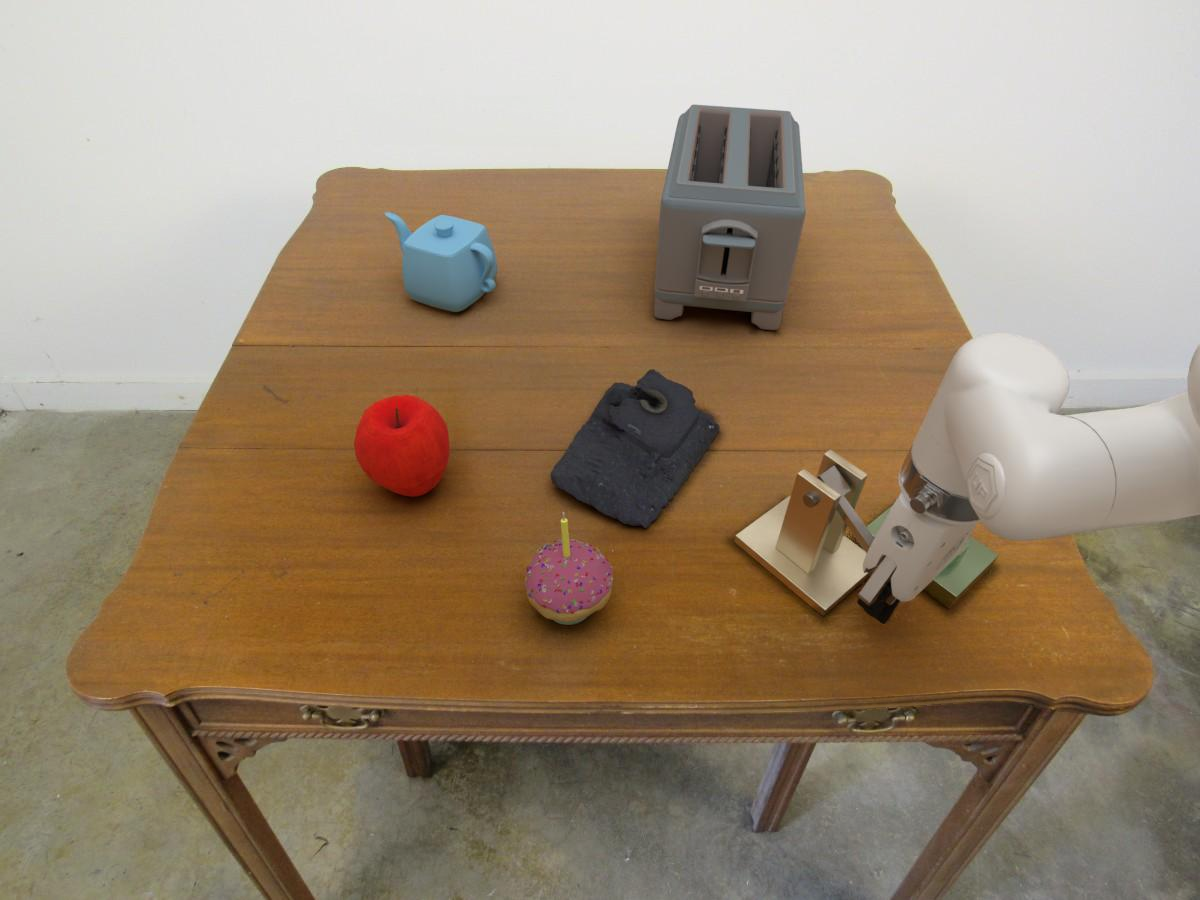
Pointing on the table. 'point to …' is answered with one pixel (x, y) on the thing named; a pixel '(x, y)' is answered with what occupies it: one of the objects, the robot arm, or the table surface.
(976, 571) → the button housing
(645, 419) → the dark gray ringed slab
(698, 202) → the toaster
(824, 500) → the switch bracket
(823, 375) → the table surface
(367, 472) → the apple
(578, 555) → the cupcake
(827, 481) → the lever
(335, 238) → the table surface
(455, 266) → the teapot
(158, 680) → the table surface
